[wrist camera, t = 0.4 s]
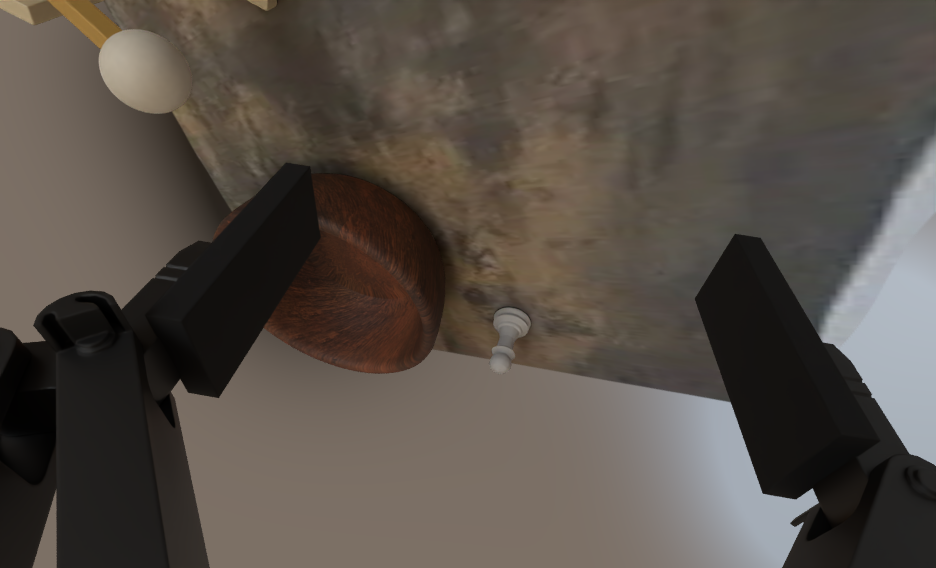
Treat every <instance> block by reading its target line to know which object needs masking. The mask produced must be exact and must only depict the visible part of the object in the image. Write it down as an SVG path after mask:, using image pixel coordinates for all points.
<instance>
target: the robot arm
mask: <svg viewBox="0 0 936 568" xmlns="http://www.w3.org/2000/svg"><path fill="white" fill-rule="evenodd" d="M320 238H321V235H320V229H319V222H318V215H317V209H316V202H315V196H314V189H313V182H312V176H311V169H310V166H304V165H298V164H291V163H285V164H284V165H283V167H282V168H281V169H280V170H279V171H278V172H277V173H276V174H275V175H274V176H273V177H272V178H271V179H270V180H269V182H268V183H267V184H266V185H265V186H264V187H263V188H262V189H261V190H260V191H259V192H258V193H257V194H256V196H255V197H254V198H253V199H252V200H251V201H250V202H249V203H248V204H247V205H246V206H245V207H244V208H243V210H242V211H241V212H240V213H239V214H238V215H237V216H236V217H235V218H234V219H233V220H232V221H231V222H230V224H229V225H228V226H227V227H226V228H225V229H224V230H223V231H222V232H221V233H220V234H219V235H218V236H217V237H216V239H215V240H214V241H213V242H212V243H210V242H203V241H197V242H195V243H194V244H192V245H190V246H188V247H187V248H185V249H183V250H181V251H179V252H178V253H177V254H176V255H175V256H174V257H173V258H172V259H171V260H170V261H169V262H168V263H167V264H166V265H167V266H166V267H164V268H162V269H161V270H160V271H159V272H158V273H157V275H156V277H155V278H153V279H151V280H150V281H149V282H148V283H147V284H146V285H145V286H144V288H142V289H141V290H140V292H138V294H137V295H136V296H135V297H134V298H133V299H132V300H131V301H130V302H129V303H128V304H127V305H126V306H125V307H124V308H123V309H122V310H121V309H120V307H119V306H118V304H117V302H116V301H115V299H114V297H113V296H112V295H109V294H107V293H105V292H102V291H86V292H78V293H74V294H71V295H68V296H65V297H63V298H60V299H58V300H56V301H55V302H53V303H51V304H50V305H48V306H46V308H44V309H43V310H42V311H41V312H40V314H39V315H37V317H36V320H35V323H34V325H33V326H34V327H35V328H36V329H37V331H38V332H39V333H40V334H41V335H42V337H43V338H44V339H45V340H46V341H41V342H30V343H22V342H21V341H20V340H19V339H18V338H17V336H16V335H15V334H14V333H13V332H12V331H11V330H7V329H4V328H0V568H32V566H33V563H34V560H35V557H36V554H37V550H38V547H39V544H40V540H41V537H42V534H43V530H44V527H45V524H46V521H47V517H48V514H49V511H50V507H51V504H52V501H53V497H54V494H55V491H56V489H57V568H210V567H209V562H208V558H207V553H206V548H205V543H204V538H203V533H202V528H201V524H200V519H199V514H198V509H197V504H196V500H195V494H194V490H193V485H192V480H191V475H190V470H189V465H188V461H187V456H186V451H185V446H184V442H183V436H182V432H181V427H180V422H179V417H178V413H177V408H176V403H175V399H174V397H173V395H172V393H171V390H172V389H173V388H174V386H175V385H176V384H177V382H178V381H179V380H180V379H181V381H182V382H183V384H184V386H185V388H186V389H187V391H188V393H194V394H199V395H205V396H210V397H216V398H219V396H220V395H221V394H222V392H223V390H224V389H225V387H226V386H227V384H228V383H229V381H230V379H231V378H232V376H233V374H234V373H235V372H236V370H237V368H238V367H239V365H240V364H241V362H242V361H243V359H244V357H245V356H246V354H247V353H248V351H249V350H250V348H251V346H252V345H253V343H254V342H255V340H256V339H257V337H258V336H259V334H260V332H261V331H262V329H263V328H264V326H265V325H266V323H267V321H268V320H269V318H270V317H271V315H272V314H273V312H274V310H275V309H276V307H277V306H278V304H279V303H280V301H281V299H282V298H283V296H284V295H285V293H286V292H287V290H288V288H289V287H290V285H291V284H292V282H293V281H294V279H295V277H296V276H297V274H298V273H299V271H300V270H301V268H302V266H303V265H304V263H305V262H306V260H307V259H308V257H309V255H310V254H311V252H312V251H313V249H314V248H315V246H316V245H317V243H318V241H319V240H320ZM695 301H696V304H697V307H698V310H699V312H700V315H701V318H702V321H703V324H704V327H705V330H706V332H707V335H708V338H709V341H710V344H711V347H712V350H713V352H714V355H715V358H716V361H717V364H718V367H719V370H720V373H721V375H722V378H723V381H724V384H725V387H726V390H727V393H728V395H729V398H730V401H731V404H732V407H733V410H734V412H735V415H736V418H737V421H738V424H739V427H740V430H741V432H742V435H743V438H744V441H745V444H746V447H747V450H748V452H749V455H750V458H751V461H752V464H753V467H754V470H755V473H756V475H757V478H758V481H759V484H760V487H761V490H762V493H763V494H768V495H773V496H779V497H785V498H790V499H797V498H799V497H800V496H802V495H803V494H805V493H806V492H807V491H809V490H810V489H812V488H813V490H814V492H815V495H816V496H817V499H818V501H819V503H818V504H817V505H815V506H813V507H812V508H810V509H809V510H807V511H806V512H804V513H802V514H801V515H799V516H798V517H796V518H795V519H794V520H793V521H792V522H791V524H792V525H793V526H794V527H795V526H797V525H799V524H801V523H802V522H804V524H803V526H802V528H801V530H800V532H799V534H798V536H797V538H796V540H795V542H794V544H793V547H792V549H791V551H790V553H789V555H788V557H787V559H786V561H785V563H784V565H783V567H782V568H936V466H935V465H934V464H932V463H930V462H928V461H926V460H924V459H922V458H920V457H918V456H914V455H911V454H909V453H908V451H907V449H906V448H905V446H904V445H903V443H902V441H901V440H900V438H899V437H898V435H897V434H896V432H895V430H894V429H893V427H892V426H891V424H890V422H889V421H888V419H887V418H886V416H885V414H884V413H883V411H882V410H881V408H880V406H879V405H878V403H877V402H876V400H875V399H874V398H872V397H871V395H872V394H871V392H870V391H869V389H868V388H867V386H866V384H865V383H862V378H861V376H860V375H859V373H858V372H857V370H856V368H855V367H854V365H853V364H852V362H851V361H850V360H849V359H848V358H847V357H846V356H845V355H844V354H843V353H842V352H841V351H840V350H839V349H837V348H836V347H835V346H834V345H833V344H828V343H823V342H822V341H821V339H820V337H819V336H818V334H817V332H816V331H815V329H814V327H813V326H812V324H811V322H810V320H809V319H808V317H807V315H806V314H805V312H804V310H803V309H802V307H801V305H800V304H799V302H798V300H797V299H796V297H795V295H794V293H793V292H792V290H791V288H790V287H789V285H788V283H787V282H786V280H785V278H784V277H783V275H782V273H781V272H780V270H779V268H778V267H777V265H776V263H775V261H774V260H773V258H772V256H771V255H770V253H769V251H768V250H767V248H766V246H765V245H764V243H763V241H762V240H761V238H758V237H751V236H745V235H739V234H735V235H734V236H733V238H732V240H731V241H730V243H729V244H728V246H727V248H726V249H725V251H724V252H723V254H722V256H721V257H720V259H719V261H718V262H717V264H716V265H715V267H714V269H713V270H712V272H711V273H710V275H709V277H708V278H707V280H706V281H705V283H704V285H703V286H702V288H701V290H700V291H699V293H698V294H697V296H696V298H695Z"/></svg>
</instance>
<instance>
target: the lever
mask: <svg viewBox="0 0 936 568" xmlns="http://www.w3.org/2000/svg"><path fill="white" fill-rule="evenodd" d="M47 1H48V2H49V3H51V4H52V5H53V6H54V7H55V8H56V9H57V10H58V11H59V12H60V13H62V14H63V15H64V16H65V17H66V18H67V19H68V20H69V21H71V23H72V24H74V25H75V26H76V27H77V28H78V29H79V30H80V31H81V32H82V33H83V34H84V35H86V36H87V37H88V38H89V39H90V40H91V41H92V42H93V43H94V44H96V46H98V47H99V48H100V49H101V50H100V54H99V68H100V72H101V75H102V77H103V80H104V82H105V84H106V85H107V86H108V88H109V89H110V91H111V92H112V93H113V94H114V95H115V96H116V97H117V98H118V99H120V100H121V101H122V102H123V103H125V104H127V105H128V106H130V107H132V108H134V109H136V110H139V111H143V112H147V113H156V114H158V113H167V112H171V111H174V110H176V109H177V108H179V107H180V106H182V105H183V104H184V103H185V102H186V101H187V99H188V97H189V96H190V93H191V90H192V73H191V70H190V67H189V65H188V63H187V61H186V59H185V57H184V56H183V54H182V53H181V52H180V51H179V50H178V49H177V48H176V47H175V46H174V45H173V44H172V43H171V42H169V41H168V40H166V39H165V38H163V37H161V36H159V35H157V34H155V33H152V32H149V31H145V30H138V29H130V30H124V31H122V30H121V29H120V28H119V27H118V26H117V25H116V24H115V23H113V22H112V21H111V20H110V19H109V18H108V17H107V16H105V14H103V13H102V12H101V11H100V10H99V9H98V8H97V7H95V5H93V4H92V3H91V2H90V1H89V0H47Z"/></svg>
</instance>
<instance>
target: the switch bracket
mask: <svg viewBox="0 0 936 568" xmlns="http://www.w3.org/2000/svg"><path fill="white" fill-rule="evenodd" d="M89 1H90V2H91V3H92V4H96V3H99V2H102V1H104V0H89ZM247 1H249V2H251V3H253V4H254V5H256V6H258V7H260V8H262V9H264V10H266V11H269V10H270V9H272V8H274V7H276V6H277V0H247ZM0 9H2V10H4V11H6V12H8V13H10V14H12V15H14V16H16V17H18V18H20V19H22V20H24V21H26V22H28V23H30V24H32V25H37V24H40V23H43V22H46V21H49V20H51V19H54V18H57V17H59V16H63V14H62V13H60V12H59V11H58V10H57V9H56V8H55V7H54V6H53V5H52V4H51V3H49V2H48V1H47V0H0Z"/></svg>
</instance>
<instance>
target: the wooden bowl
mask: <svg viewBox="0 0 936 568" xmlns="http://www.w3.org/2000/svg"><path fill="white" fill-rule="evenodd" d="M311 176H312V182H313V189H314V196H315V202H316V209H317V215H318V222H319V229H320V235H321V238H320V240H319V241H318V243H317V245H316V246H315V248H314V249H313V251H312V252H311V254H310V255H309V257H308V259H307V260H306V262H305V263H304V265H303V266H302V268H301V270H300V271H299V273H298V274H297V276H296V277H295V279H294V281H293V282H292V284H291V285H290V287H289V288H288V290H287V292H286V293H285V295H284V296H283V298H282V299H281V301H280V303H279V304H278V306H277V307H276V309H275V310H274V312H273V314H272V315H271V317H270V318H269V320H268V321H267V323H266V325H265V326H264V328H265V329H266V330H267V331H269V332H270V333H271V334H273V335H274V336H276V337H277V338H279V339H280V340H282V341H283V342H285V343H286V344H288V345H290V346H291V347H293V348H295V349H297V350H299V351H301V352H303V353H305V354H307V355H309V356H311V357H313V358H315V359H318V360H320V361H323V362H326V363H328V364H331V365H334V366H337V367H341V368H344V369H348V370H353V371H358V372H365V373H378V374H380V373H394V372H400V371H404V370H407V369H410V368H412V367H414V366H416V365H418V364H419V363H421V362H422V360H424V359H425V358H426V357H427V355H428V354H429V353H430V352H431V350H432V348H433V346H434V343H435V340H436V337H437V334H438V330H439V326H440V322H441V317H442V312H443V307H444V300H445V273H444V267H443V262H442V258H441V255H440V252H439V249H438V247H437V244H436V242H435V240H434V238H433V236H432V234H431V233H430V231H429V229H428V228H427V227H426V225H425V224H424V223H423V221H422V220H421V219H420V218H419V217H418V216H417V215H416V214H415V213H414V212H413V211H412V210H411V209H410V208H409V207H408V206H407V205H406V204H404V203H403V202H402V201H401V200H399V199H398V198H397V197H395V196H394V195H392V194H391V193H389V192H387V191H386V190H384V189H382V188H380V187H378V186H376V185H374V184H372V183H370V182H367V181H364V180H362V179H358V178H355V177H352V176H347V175H341V174H328V173H319V174H311ZM254 197H255V196H254ZM254 197H253V198H254ZM253 198H251V199H250V200H248V201H247V202H245V203H244V204H242V205H241V206H239V207H238V208H237V209H235V210H234V211H233V212H231V213H230V214H229V215H228V216H226V217H225V218H224V220H223V221H222V222H221V223H220V225H219V226H218V228H217V230H216V232H215V235H214V237H213V241H214V240H215V239H216V237H217V236H218V235H219V234H220V233H221V232H222V231H223V230H224V229H225V228H226V227H227V226H228V225H229V224H230V222H231V221H232V220H233V219H234V218H235V217H236V216H237V215H238V214H239V213H240V212H241V211H242V210H243V208H244V207H245V206H246V205H247V204H248V203H249V202H250V201H251V200H252V199H253Z"/></svg>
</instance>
